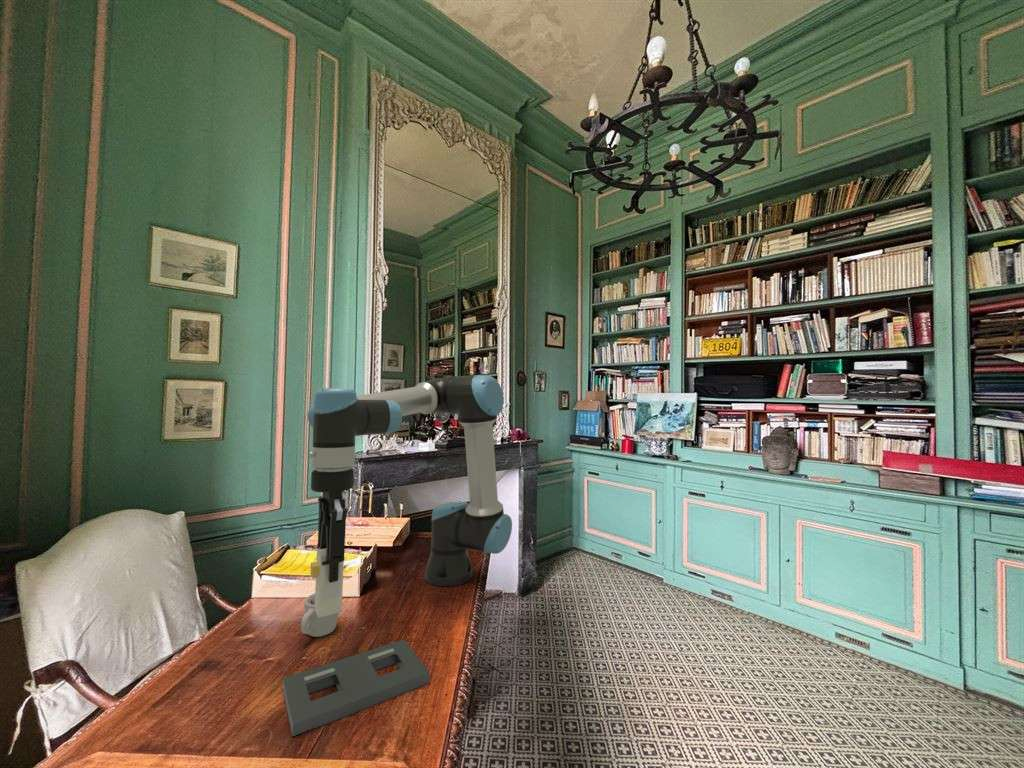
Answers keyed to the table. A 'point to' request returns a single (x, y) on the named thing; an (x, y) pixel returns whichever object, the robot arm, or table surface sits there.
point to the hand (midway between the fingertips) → (328, 592)
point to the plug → (318, 572)
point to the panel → (351, 685)
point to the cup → (316, 620)
